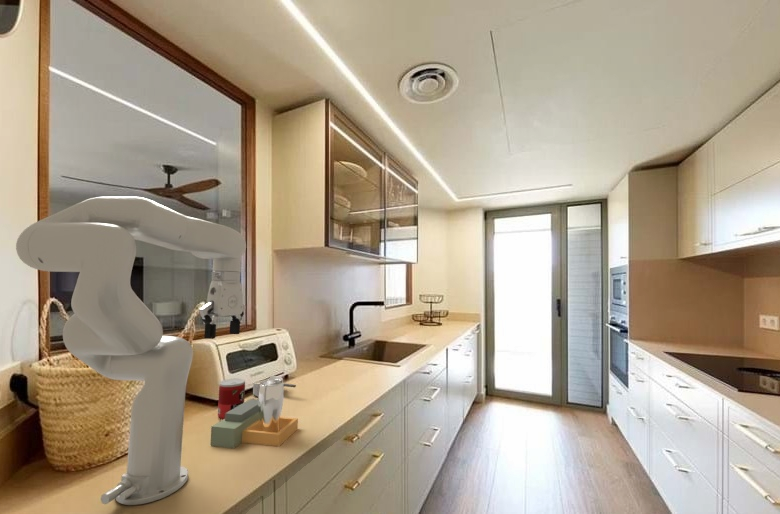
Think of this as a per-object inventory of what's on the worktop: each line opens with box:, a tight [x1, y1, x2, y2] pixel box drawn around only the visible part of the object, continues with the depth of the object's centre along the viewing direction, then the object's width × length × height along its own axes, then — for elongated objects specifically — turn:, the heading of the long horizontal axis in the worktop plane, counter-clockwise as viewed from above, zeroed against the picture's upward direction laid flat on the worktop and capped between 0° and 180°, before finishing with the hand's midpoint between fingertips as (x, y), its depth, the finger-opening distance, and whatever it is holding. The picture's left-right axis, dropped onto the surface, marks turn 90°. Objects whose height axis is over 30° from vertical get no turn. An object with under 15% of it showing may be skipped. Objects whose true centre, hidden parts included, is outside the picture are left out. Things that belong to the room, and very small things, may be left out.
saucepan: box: [252, 375, 297, 398], centre depth 127 cm, size 12×20×6 cm, turn 62°
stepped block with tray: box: [209, 398, 299, 449], centre depth 96 cm, size 20×18×7 cm
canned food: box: [217, 377, 246, 420], centre depth 108 cm, size 8×8×11 cm
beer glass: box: [257, 379, 285, 433], centre depth 94 cm, size 7×7×15 cm
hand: (222, 336), depth 96 cm, fingers open, 9 cm apart
